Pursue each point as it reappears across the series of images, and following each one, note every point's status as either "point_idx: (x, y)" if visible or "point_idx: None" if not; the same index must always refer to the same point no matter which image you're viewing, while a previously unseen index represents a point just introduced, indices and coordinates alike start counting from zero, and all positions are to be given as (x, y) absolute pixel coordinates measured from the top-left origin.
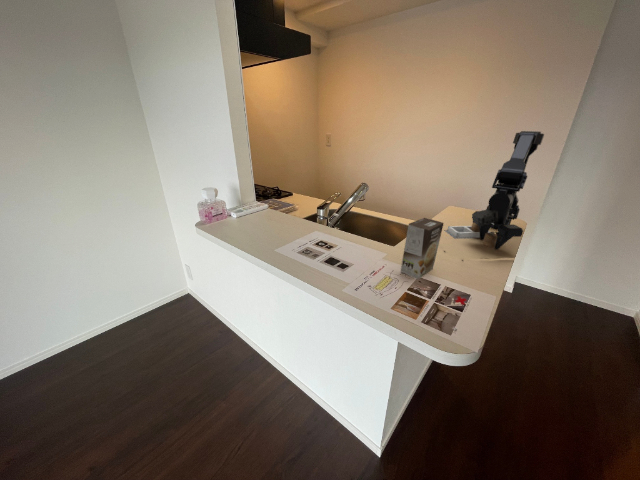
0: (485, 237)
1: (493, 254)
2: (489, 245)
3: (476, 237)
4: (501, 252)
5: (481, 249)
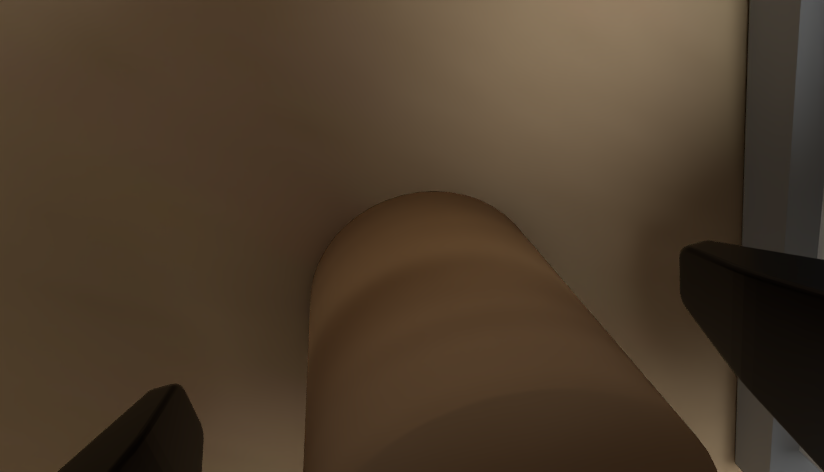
0: (470, 321)
1: (30, 290)
2: (313, 323)
3: (816, 193)
4: (207, 456)
5: (245, 113)
